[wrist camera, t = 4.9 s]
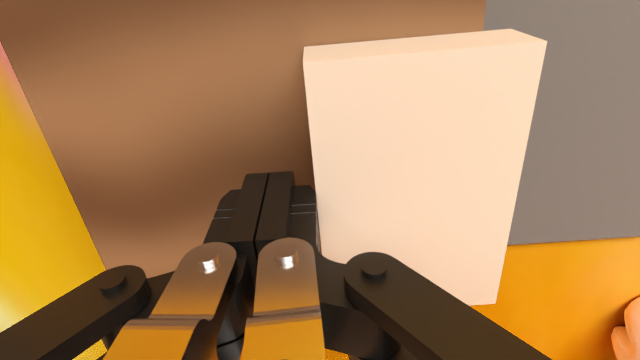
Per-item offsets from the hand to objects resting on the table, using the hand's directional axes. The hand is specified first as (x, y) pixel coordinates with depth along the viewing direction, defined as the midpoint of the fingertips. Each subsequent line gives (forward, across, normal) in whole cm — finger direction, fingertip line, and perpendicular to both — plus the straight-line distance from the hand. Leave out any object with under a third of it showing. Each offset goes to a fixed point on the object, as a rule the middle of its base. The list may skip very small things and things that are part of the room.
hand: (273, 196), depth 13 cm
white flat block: (+1, -4, 0) cm, 5 cm away
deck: (+5, 0, 0) cm, 5 cm away
